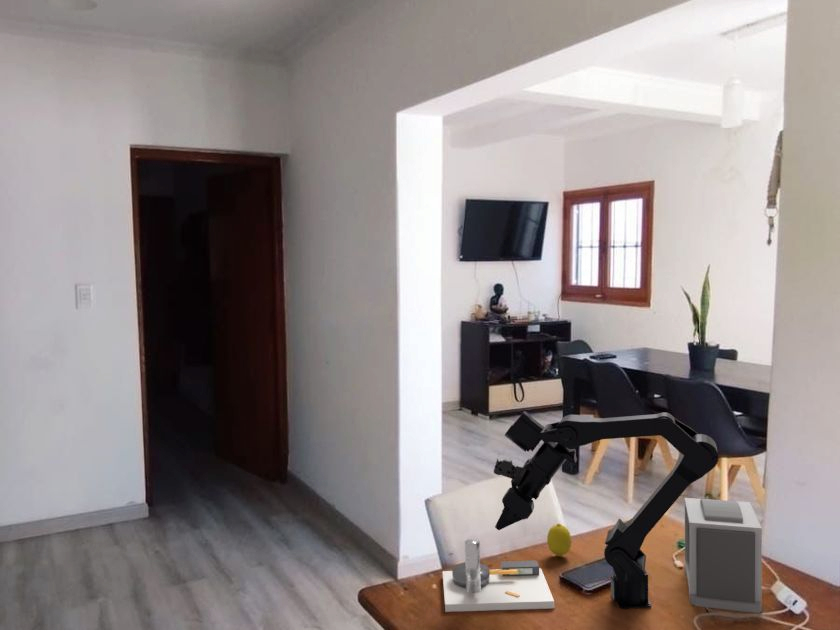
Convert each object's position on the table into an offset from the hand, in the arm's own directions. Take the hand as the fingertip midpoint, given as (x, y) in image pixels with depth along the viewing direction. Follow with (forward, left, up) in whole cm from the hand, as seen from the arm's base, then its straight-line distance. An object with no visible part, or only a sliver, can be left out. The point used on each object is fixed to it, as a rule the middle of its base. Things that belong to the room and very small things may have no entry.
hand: (500, 520), depth 146 cm
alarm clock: (-46, +4, -15) cm, 48 cm away
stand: (+2, +3, -14) cm, 15 cm away
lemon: (-15, -13, -15) cm, 25 cm away
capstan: (+4, +3, -13) cm, 13 cm away
